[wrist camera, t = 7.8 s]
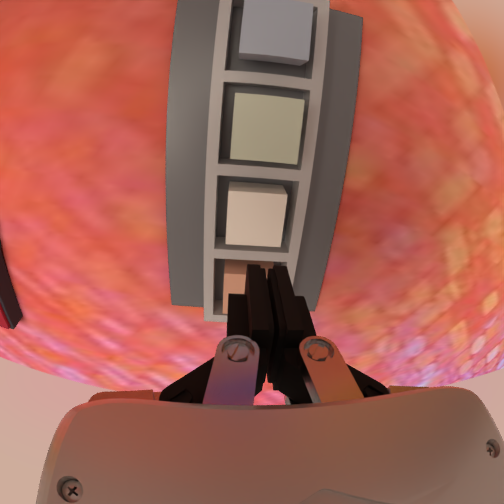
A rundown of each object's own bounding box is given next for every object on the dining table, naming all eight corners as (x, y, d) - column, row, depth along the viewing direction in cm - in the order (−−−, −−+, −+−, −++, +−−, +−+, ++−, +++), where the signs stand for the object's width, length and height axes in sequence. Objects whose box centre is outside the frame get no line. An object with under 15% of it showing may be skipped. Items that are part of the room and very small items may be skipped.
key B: (225, 257, 25) (224, 273, 22) (273, 259, 25) (276, 276, 23) (223, 295, 27) (222, 313, 24) (267, 297, 27) (269, 315, 25)
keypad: (180, -1, 15) (172, -14, 13) (359, 19, 16) (374, 11, 14) (173, 299, 28) (167, 319, 26) (313, 306, 29) (319, 325, 27)
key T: (244, 7, 14) (244, -5, 12) (304, 14, 14) (313, 3, 12) (238, 59, 16) (238, 52, 14) (300, 65, 16) (308, 60, 14)
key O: (229, 181, 22) (228, 190, 19) (282, 185, 22) (287, 195, 20) (226, 229, 24) (225, 244, 21) (276, 232, 24) (280, 247, 22)
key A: (235, 94, 17) (235, 92, 15) (296, 100, 17) (304, 100, 15) (231, 152, 19) (229, 158, 17) (290, 157, 19) (296, 164, 17)
